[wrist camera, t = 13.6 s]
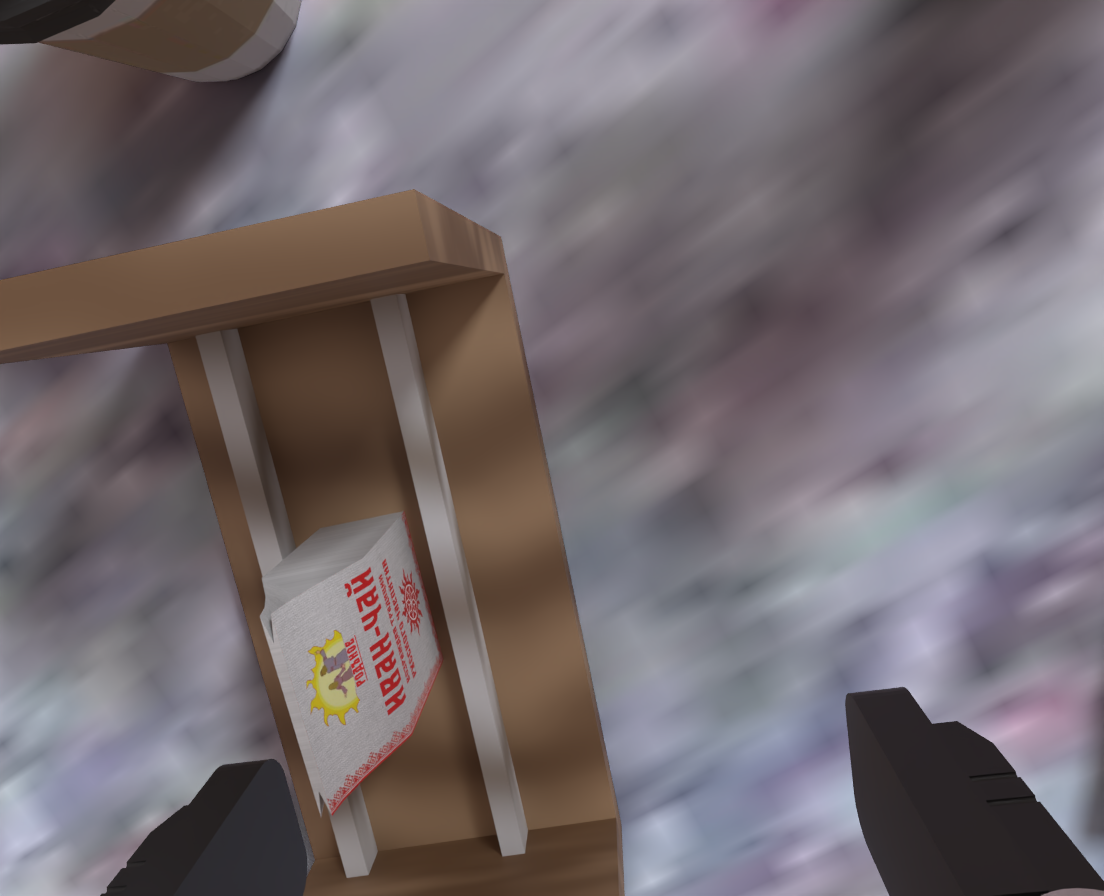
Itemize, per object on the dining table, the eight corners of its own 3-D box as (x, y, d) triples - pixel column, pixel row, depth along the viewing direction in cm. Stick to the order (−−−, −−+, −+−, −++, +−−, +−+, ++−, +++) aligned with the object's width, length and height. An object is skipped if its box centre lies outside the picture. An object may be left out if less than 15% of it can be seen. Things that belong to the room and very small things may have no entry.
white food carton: (361, 674, 35) (268, 826, 25) (320, 527, 33) (204, 626, 24) (443, 659, 34) (381, 807, 24) (404, 510, 33) (322, 603, 23)
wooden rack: (176, 305, 33) (-175, 318, 18) (500, 236, 32) (414, 189, 17) (333, 865, 38) (160, 1243, 23) (621, 825, 37) (637, 1197, 22)
